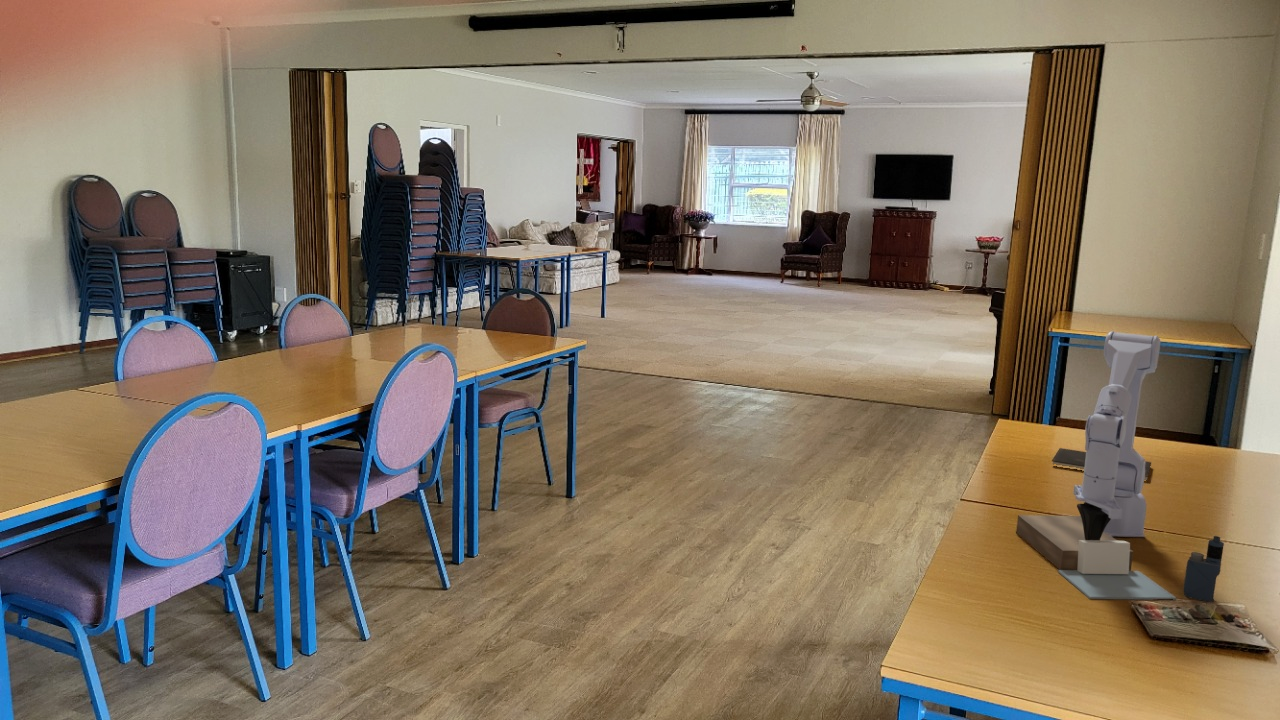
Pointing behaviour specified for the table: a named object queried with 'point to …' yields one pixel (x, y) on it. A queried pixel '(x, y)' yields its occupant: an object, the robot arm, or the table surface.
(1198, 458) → the table surface
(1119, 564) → the white flat block
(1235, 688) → the table surface
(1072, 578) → the mat
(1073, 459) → the hardcover book
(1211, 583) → the vaping device
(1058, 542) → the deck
